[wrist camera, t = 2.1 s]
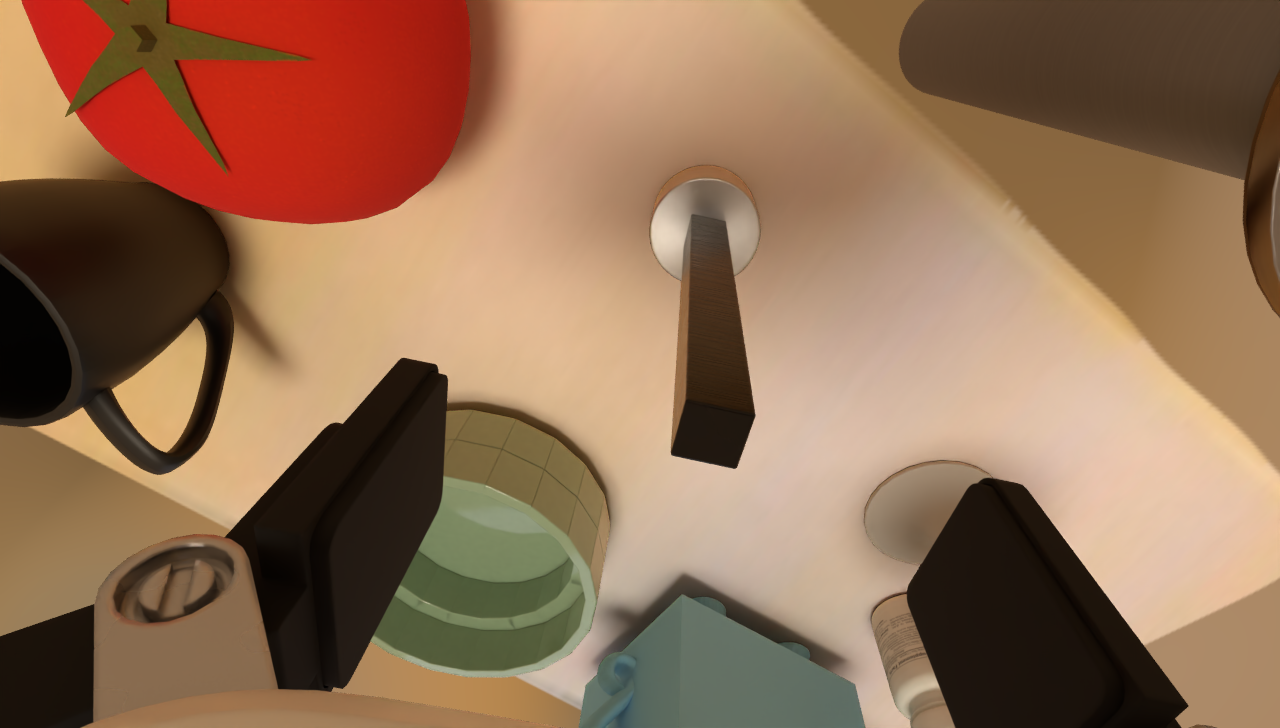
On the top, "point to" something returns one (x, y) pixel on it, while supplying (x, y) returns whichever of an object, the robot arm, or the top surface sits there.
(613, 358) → the top surface
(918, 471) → the wineglass
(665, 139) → the top surface
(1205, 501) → the top surface
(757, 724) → the teapot
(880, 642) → the pill bottle
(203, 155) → the tomato
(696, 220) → the square post on disc
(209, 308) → the mug
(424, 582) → the bowl
